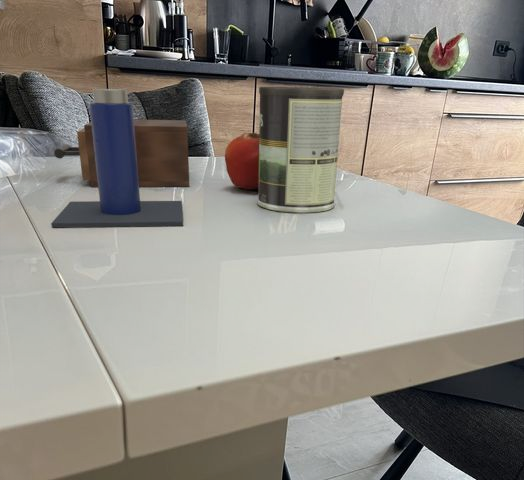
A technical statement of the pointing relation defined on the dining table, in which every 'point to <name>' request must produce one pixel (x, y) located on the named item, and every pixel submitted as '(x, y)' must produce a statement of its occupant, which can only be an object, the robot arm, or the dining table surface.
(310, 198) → the coffee can
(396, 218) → the dining table surface
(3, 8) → the robot arm
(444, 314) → the dining table surface
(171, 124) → the cabinet
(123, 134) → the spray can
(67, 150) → the drawer
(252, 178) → the tomato
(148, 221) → the mat
